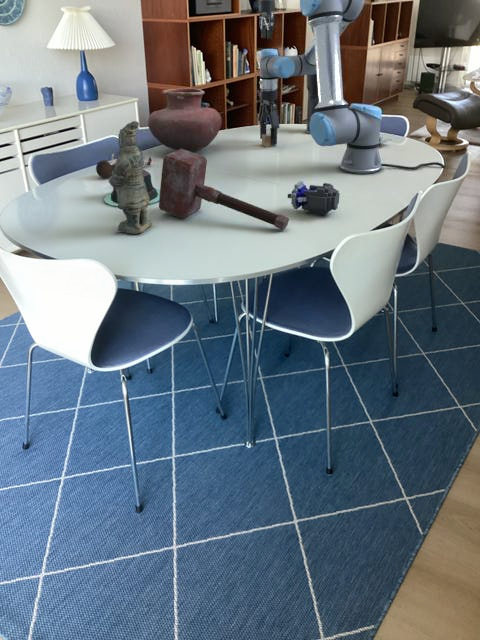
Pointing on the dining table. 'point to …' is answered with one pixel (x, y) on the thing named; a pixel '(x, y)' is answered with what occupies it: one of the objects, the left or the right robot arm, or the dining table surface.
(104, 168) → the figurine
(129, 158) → the statue
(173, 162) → the sledgehammer
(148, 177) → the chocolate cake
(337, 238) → the dining table surface
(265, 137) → the block
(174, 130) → the clay pot
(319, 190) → the toy
